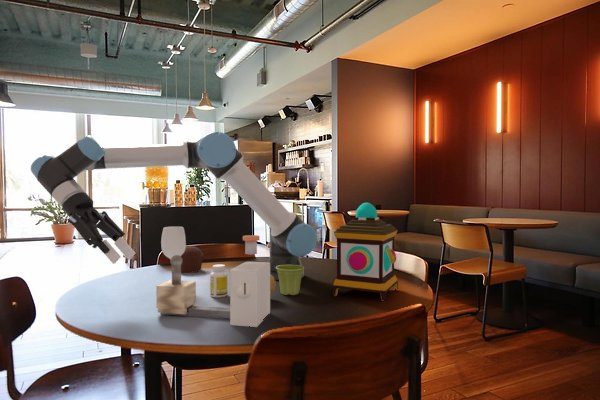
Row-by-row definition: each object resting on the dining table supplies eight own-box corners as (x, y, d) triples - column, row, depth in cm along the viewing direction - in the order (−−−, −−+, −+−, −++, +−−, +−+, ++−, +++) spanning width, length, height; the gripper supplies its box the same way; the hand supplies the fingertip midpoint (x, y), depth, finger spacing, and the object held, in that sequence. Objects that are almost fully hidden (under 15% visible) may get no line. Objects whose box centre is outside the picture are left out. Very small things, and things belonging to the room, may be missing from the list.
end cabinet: (229, 326, 103) (229, 270, 102) (246, 311, 115) (246, 261, 115) (255, 328, 101) (255, 271, 101) (270, 312, 114) (270, 262, 113)
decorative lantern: (347, 283, 149) (348, 201, 149) (402, 289, 141) (403, 202, 140) (326, 296, 131) (327, 202, 131) (388, 304, 123) (389, 204, 122)
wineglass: (179, 291, 137) (178, 228, 137) (155, 290, 139) (155, 228, 139) (191, 285, 146) (190, 226, 145) (168, 284, 148) (168, 225, 147)
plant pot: (290, 288, 142) (290, 263, 142) (310, 293, 135) (310, 267, 135) (269, 293, 135) (269, 266, 135) (289, 298, 129) (289, 271, 128)
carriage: (156, 313, 110) (156, 256, 110) (169, 305, 117) (169, 252, 117) (183, 315, 109) (183, 257, 108) (195, 307, 116) (195, 253, 115)
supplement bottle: (230, 294, 134) (230, 264, 133) (222, 298, 129) (222, 267, 128) (215, 293, 135) (215, 263, 135) (207, 297, 130) (206, 266, 130)
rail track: (160, 314, 112) (160, 306, 112) (166, 311, 115) (166, 303, 115) (236, 319, 108) (236, 311, 108) (240, 316, 111) (240, 308, 111)
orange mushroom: (240, 254, 106) (240, 236, 106) (245, 252, 111) (245, 235, 111) (256, 255, 106) (256, 237, 105) (261, 252, 110) (261, 235, 110)
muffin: (199, 273, 167) (199, 248, 166) (172, 273, 167) (172, 248, 166) (206, 267, 178) (206, 245, 178) (181, 267, 179) (181, 244, 178)
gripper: (89, 207, 129) (136, 261, 126) (38, 210, 110) (93, 274, 107) (103, 190, 127) (151, 244, 125) (55, 191, 109) (110, 254, 106)
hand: (124, 258), depth 116 cm, fingers open, 6 cm apart
